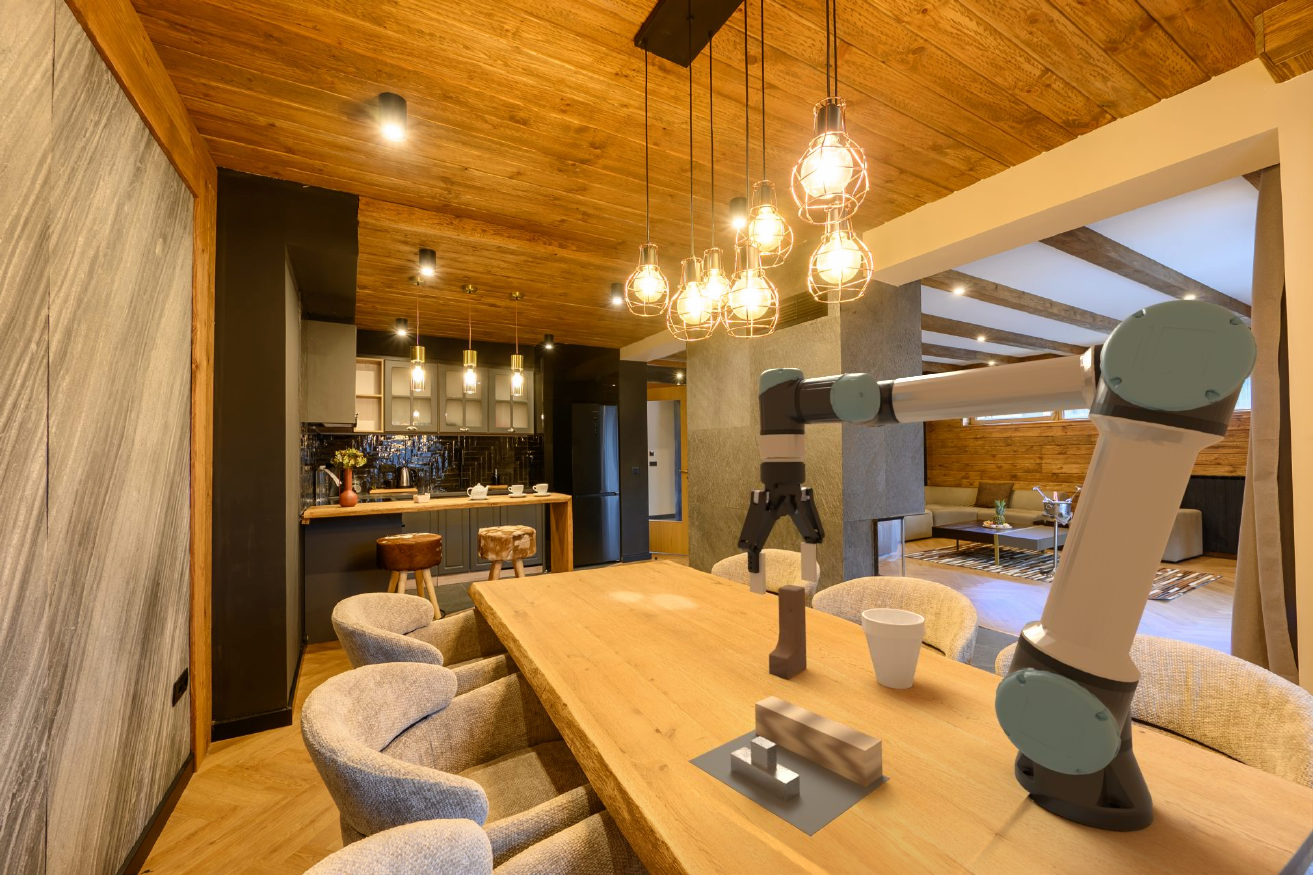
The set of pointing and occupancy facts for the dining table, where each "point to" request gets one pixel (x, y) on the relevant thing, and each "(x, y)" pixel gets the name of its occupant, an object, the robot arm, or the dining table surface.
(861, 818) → the dining table surface
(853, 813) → the dining table surface
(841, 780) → the slate board
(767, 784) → the fulcrum ridge
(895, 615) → the cup
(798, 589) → the wooden block
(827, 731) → the beech bar
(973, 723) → the dining table surface
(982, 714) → the dining table surface
